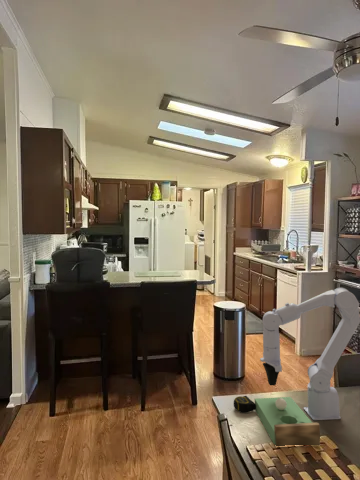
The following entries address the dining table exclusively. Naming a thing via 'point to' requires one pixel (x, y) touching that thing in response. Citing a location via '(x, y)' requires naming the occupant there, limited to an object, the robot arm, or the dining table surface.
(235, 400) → the tape measure
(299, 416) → the green
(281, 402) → the ball
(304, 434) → the end rail
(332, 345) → the robot arm
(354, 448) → the dining table surface
